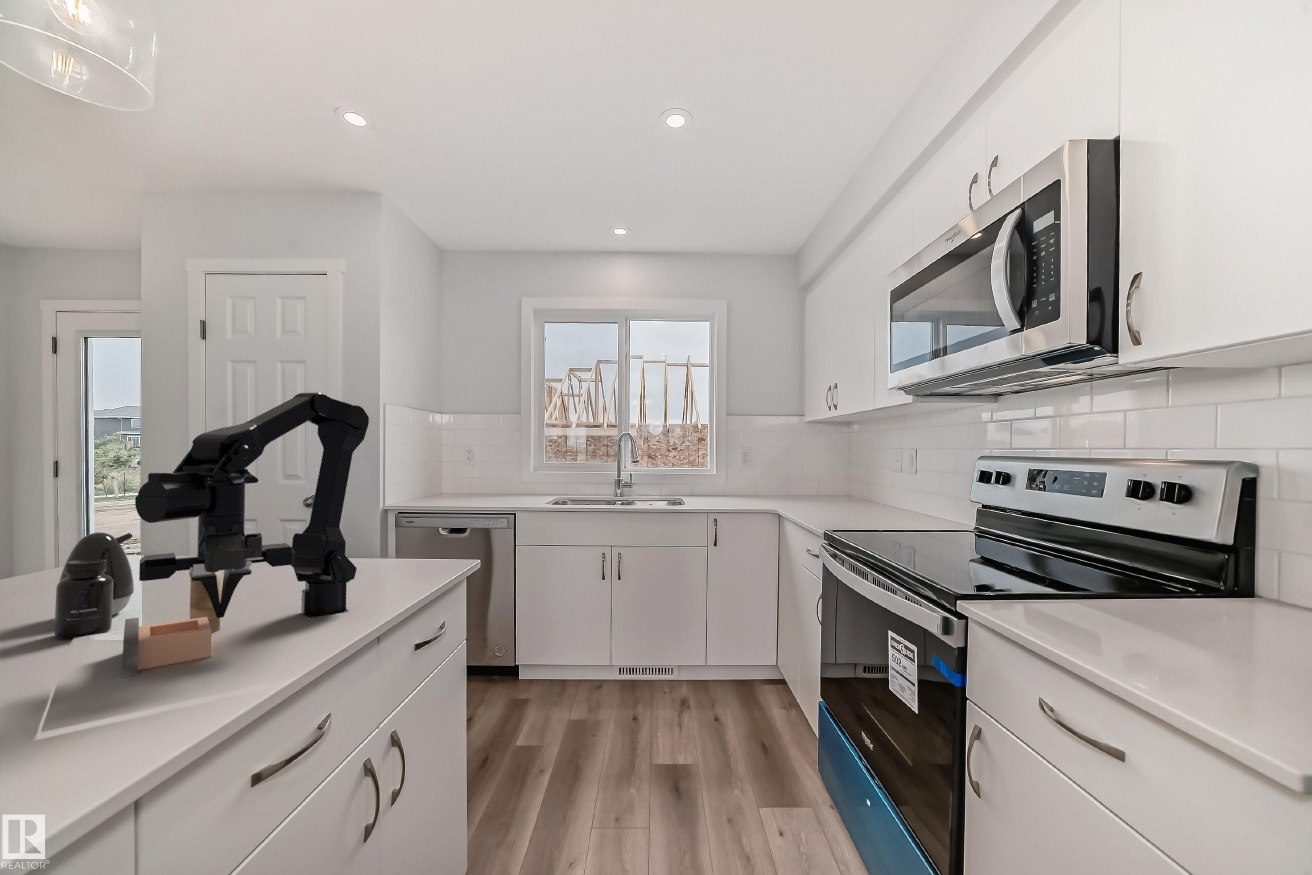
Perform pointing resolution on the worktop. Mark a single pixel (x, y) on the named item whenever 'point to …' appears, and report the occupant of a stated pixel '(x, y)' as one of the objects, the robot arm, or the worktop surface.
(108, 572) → the pump dispenser
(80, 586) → the supplement bottle
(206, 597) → the dowel
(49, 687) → the worktop surface
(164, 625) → the slider block
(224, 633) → the worktop surface
